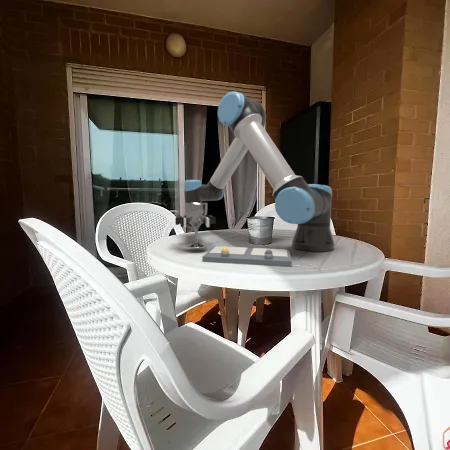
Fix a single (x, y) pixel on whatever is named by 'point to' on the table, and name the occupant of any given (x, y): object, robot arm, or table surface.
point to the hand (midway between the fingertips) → (196, 223)
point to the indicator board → (249, 256)
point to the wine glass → (195, 219)
